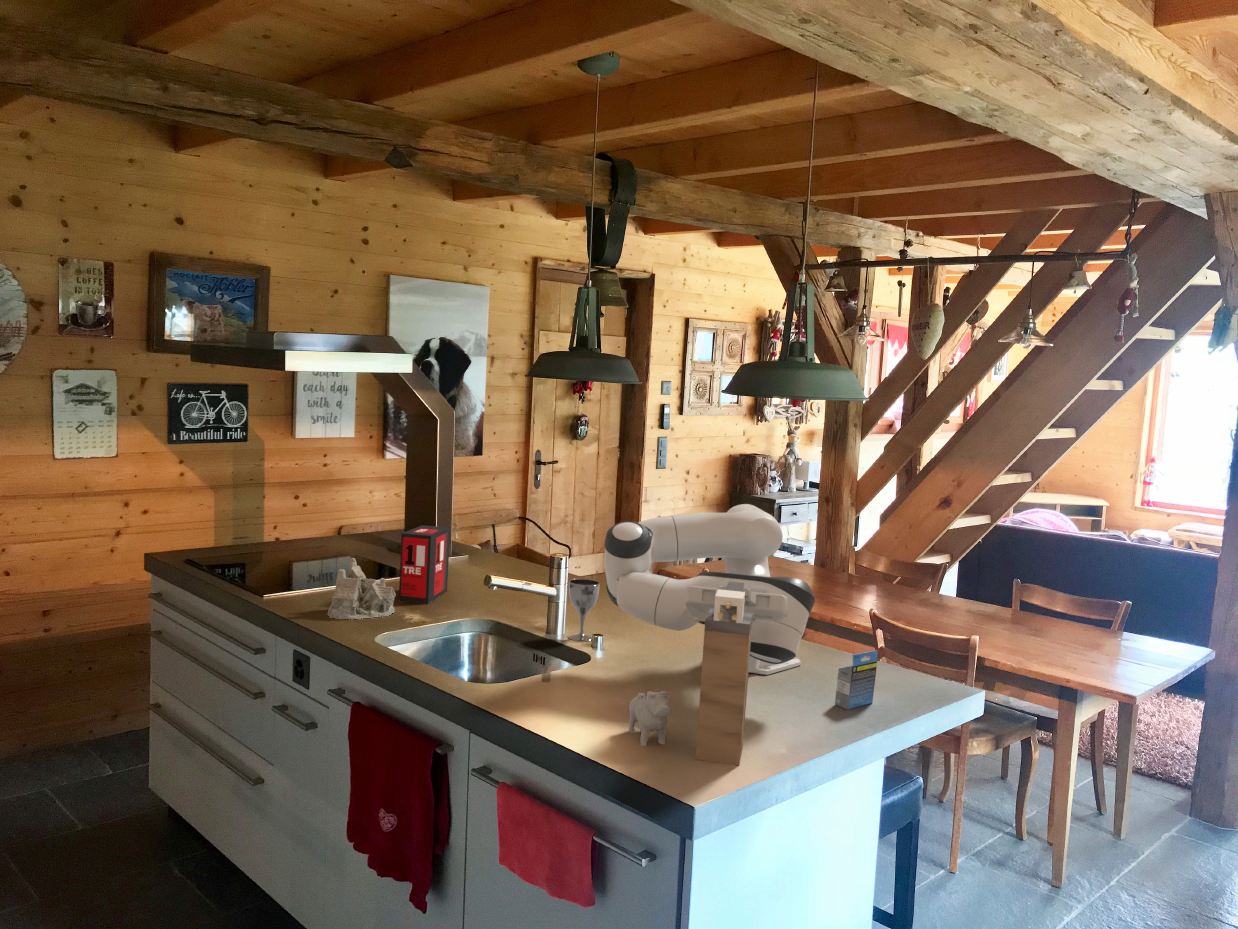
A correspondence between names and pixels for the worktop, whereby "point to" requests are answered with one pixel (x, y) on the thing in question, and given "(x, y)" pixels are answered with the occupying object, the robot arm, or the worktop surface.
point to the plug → (730, 603)
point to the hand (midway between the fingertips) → (734, 591)
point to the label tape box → (857, 681)
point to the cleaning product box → (424, 564)
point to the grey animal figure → (649, 715)
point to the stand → (723, 689)
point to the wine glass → (583, 602)
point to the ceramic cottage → (360, 596)
